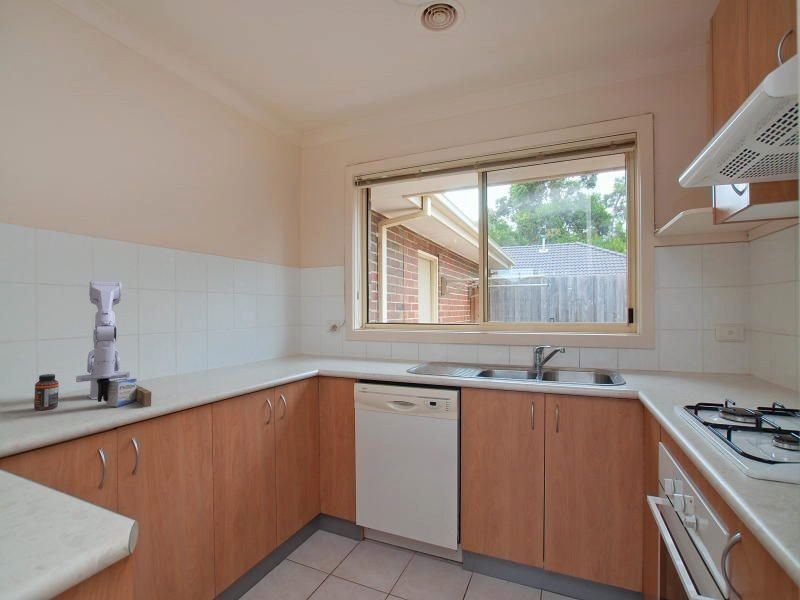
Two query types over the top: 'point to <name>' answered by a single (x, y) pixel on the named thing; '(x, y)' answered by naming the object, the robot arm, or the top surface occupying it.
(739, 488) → the top surface
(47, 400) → the supplement bottle
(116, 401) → the medicine box
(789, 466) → the top surface
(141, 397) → the walnut board
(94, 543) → the top surface
